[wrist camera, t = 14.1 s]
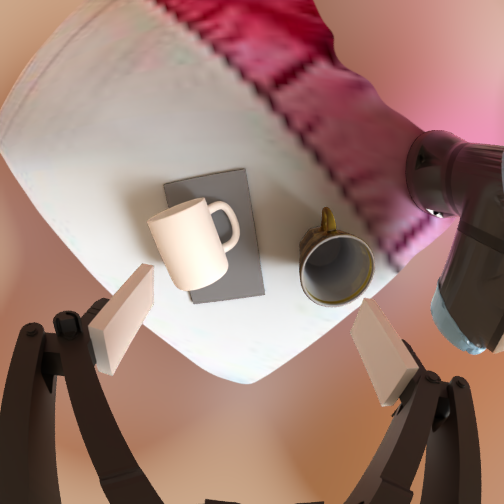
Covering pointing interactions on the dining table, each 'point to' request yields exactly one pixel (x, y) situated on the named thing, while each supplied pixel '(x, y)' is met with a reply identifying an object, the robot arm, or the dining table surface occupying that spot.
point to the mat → (226, 233)
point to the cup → (193, 242)
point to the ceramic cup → (334, 264)
